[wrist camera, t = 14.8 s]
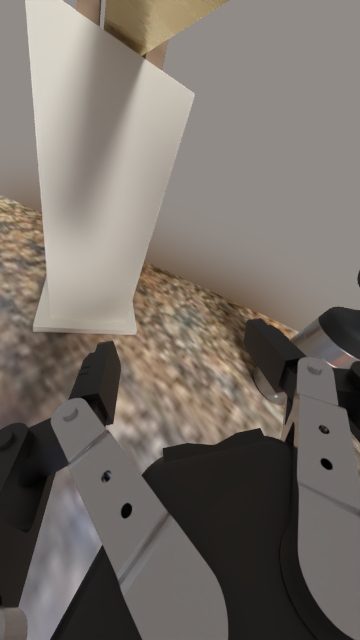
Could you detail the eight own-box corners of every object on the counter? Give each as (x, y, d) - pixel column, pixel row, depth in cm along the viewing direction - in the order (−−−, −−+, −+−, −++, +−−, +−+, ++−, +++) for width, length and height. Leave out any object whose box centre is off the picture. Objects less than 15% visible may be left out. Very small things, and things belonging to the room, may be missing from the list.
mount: (52, 259, 42) (34, -72, 18) (126, 272, 50) (182, 47, 26) (33, 331, 30) (-91, -374, 6) (135, 334, 37) (257, 14, 14)
